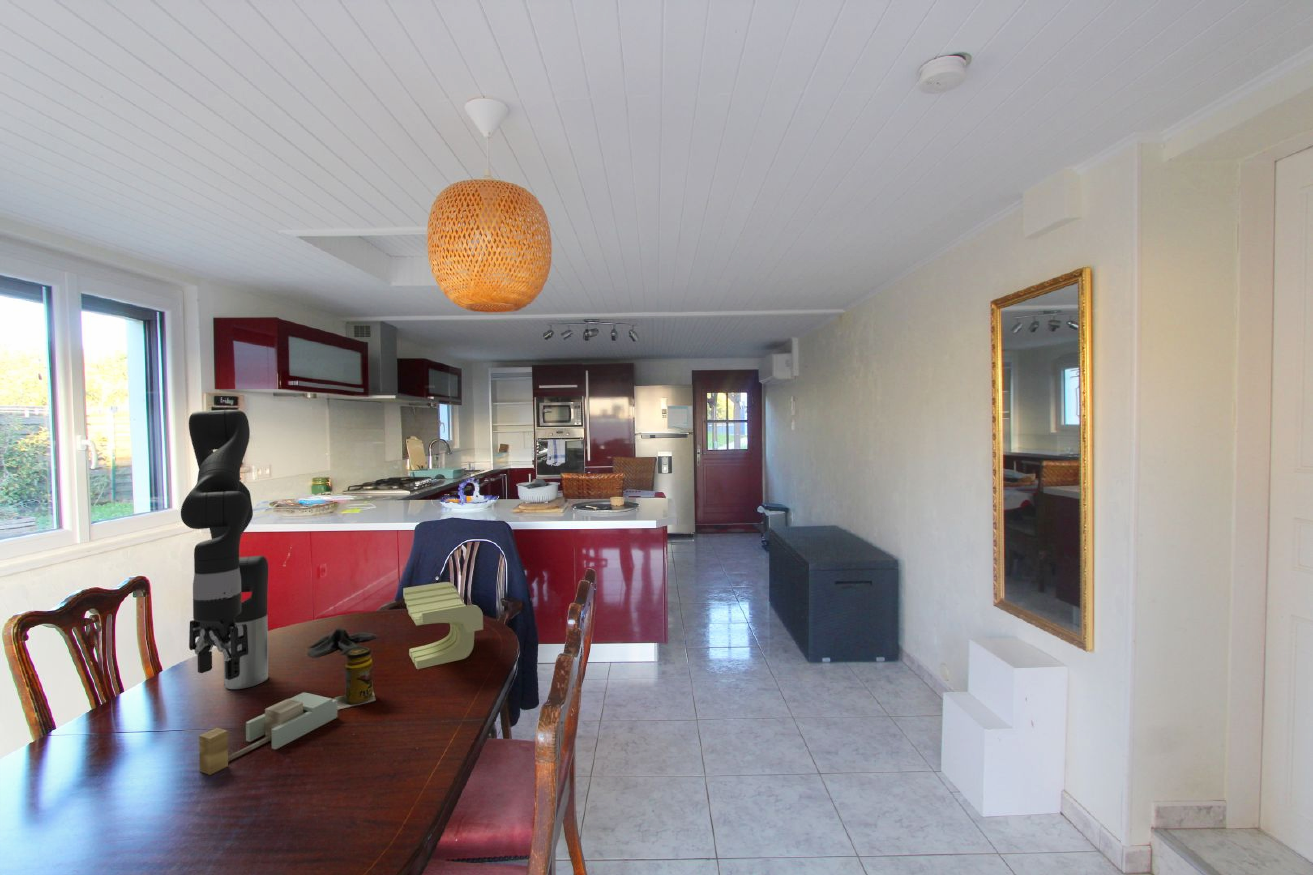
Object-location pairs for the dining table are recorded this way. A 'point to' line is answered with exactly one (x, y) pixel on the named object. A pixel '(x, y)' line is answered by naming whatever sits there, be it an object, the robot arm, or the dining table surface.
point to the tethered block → (216, 747)
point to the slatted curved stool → (442, 608)
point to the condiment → (357, 679)
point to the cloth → (339, 643)
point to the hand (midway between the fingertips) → (218, 674)
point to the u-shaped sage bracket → (296, 720)
